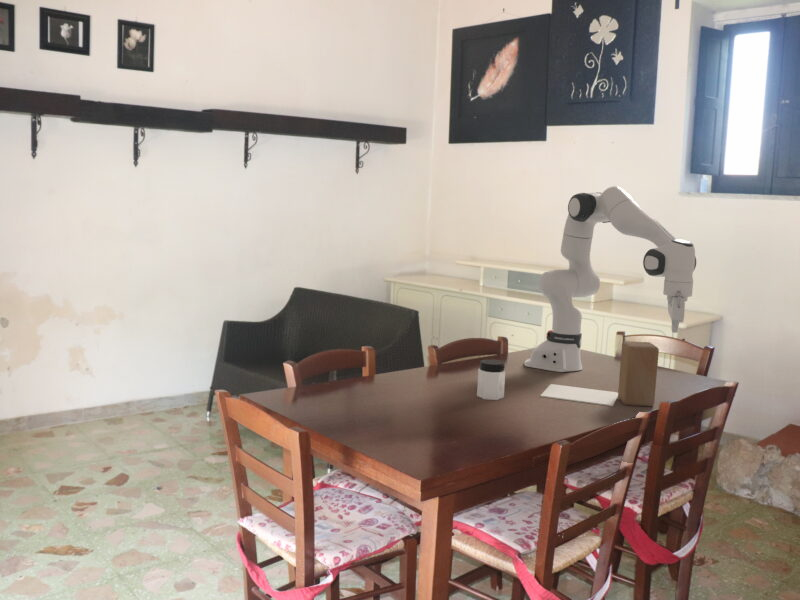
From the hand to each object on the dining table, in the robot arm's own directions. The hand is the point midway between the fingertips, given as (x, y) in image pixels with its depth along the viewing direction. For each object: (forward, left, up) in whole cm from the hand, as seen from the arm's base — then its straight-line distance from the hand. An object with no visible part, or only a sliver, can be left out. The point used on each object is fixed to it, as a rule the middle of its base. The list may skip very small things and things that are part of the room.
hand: (674, 332), depth 261 cm
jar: (-56, -18, -25) cm, 64 cm away
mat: (-29, 0, -25) cm, 38 cm away
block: (-10, 0, -25) cm, 27 cm away
